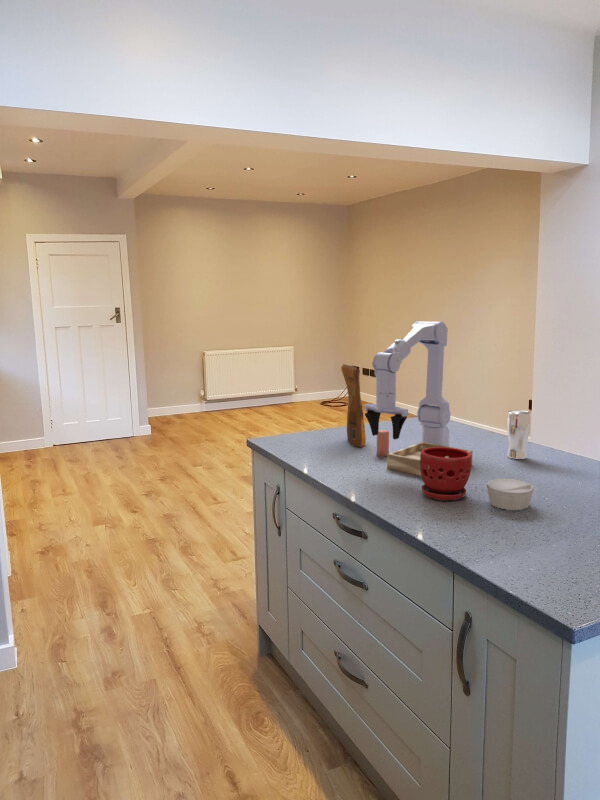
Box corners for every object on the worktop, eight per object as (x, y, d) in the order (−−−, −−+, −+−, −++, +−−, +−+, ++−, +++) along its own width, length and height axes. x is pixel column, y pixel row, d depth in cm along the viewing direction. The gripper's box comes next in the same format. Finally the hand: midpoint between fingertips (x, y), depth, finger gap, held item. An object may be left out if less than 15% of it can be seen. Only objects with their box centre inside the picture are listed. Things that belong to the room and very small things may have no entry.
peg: (381, 452, 206) (381, 429, 205) (391, 454, 204) (391, 431, 202) (374, 455, 204) (374, 431, 202) (384, 457, 201) (384, 433, 199)
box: (421, 455, 203) (422, 441, 202) (472, 464, 191) (472, 450, 190) (387, 468, 188) (387, 454, 188) (439, 479, 176) (439, 464, 175)
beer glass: (504, 459, 196) (506, 413, 194) (506, 453, 203) (508, 409, 200) (528, 461, 194) (530, 414, 191) (528, 455, 200) (531, 410, 198)
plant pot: (467, 506, 155) (469, 460, 153) (415, 500, 159) (416, 455, 157) (472, 490, 167) (473, 447, 165) (423, 485, 171) (424, 443, 169)
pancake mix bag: (350, 449, 212) (350, 368, 207) (340, 436, 230) (340, 362, 226) (369, 448, 212) (369, 368, 208) (358, 435, 231) (358, 361, 226)
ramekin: (527, 515, 148) (528, 494, 147) (480, 508, 153) (481, 487, 153) (536, 502, 157) (537, 482, 156) (492, 495, 163) (493, 476, 162)
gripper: (358, 391, 185) (358, 435, 188) (398, 396, 176) (398, 442, 178) (372, 388, 191) (371, 431, 193) (412, 393, 181) (411, 438, 183)
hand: (385, 436), depth 186 cm, fingers open, 7 cm apart
